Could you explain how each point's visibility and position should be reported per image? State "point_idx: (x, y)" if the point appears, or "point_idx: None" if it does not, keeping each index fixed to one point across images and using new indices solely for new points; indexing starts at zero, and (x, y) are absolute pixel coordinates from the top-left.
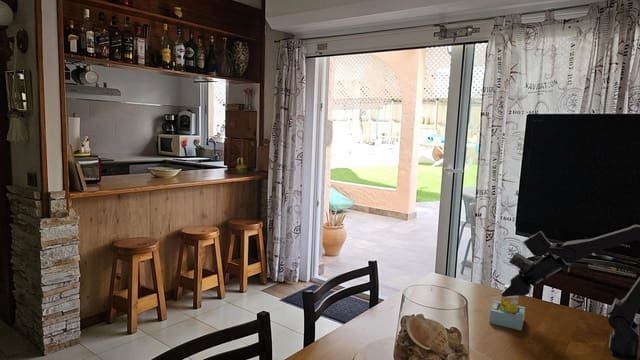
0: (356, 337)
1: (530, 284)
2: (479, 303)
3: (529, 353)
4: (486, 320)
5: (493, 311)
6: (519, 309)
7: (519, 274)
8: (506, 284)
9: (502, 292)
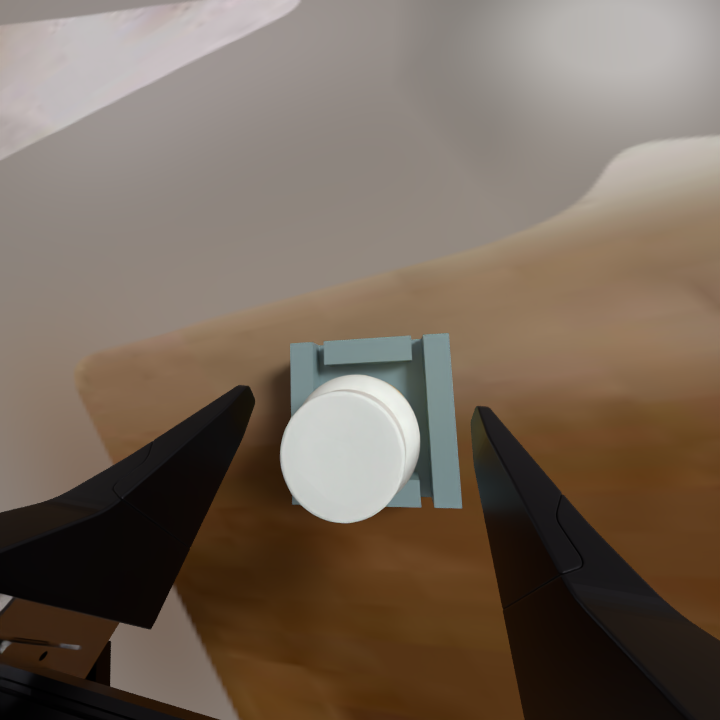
0: (11, 75)
1: (525, 710)
2: (510, 265)
3: None
4: (330, 336)
5: (291, 357)
6: (431, 473)
7: (602, 648)
8: (373, 406)
9: (330, 382)
